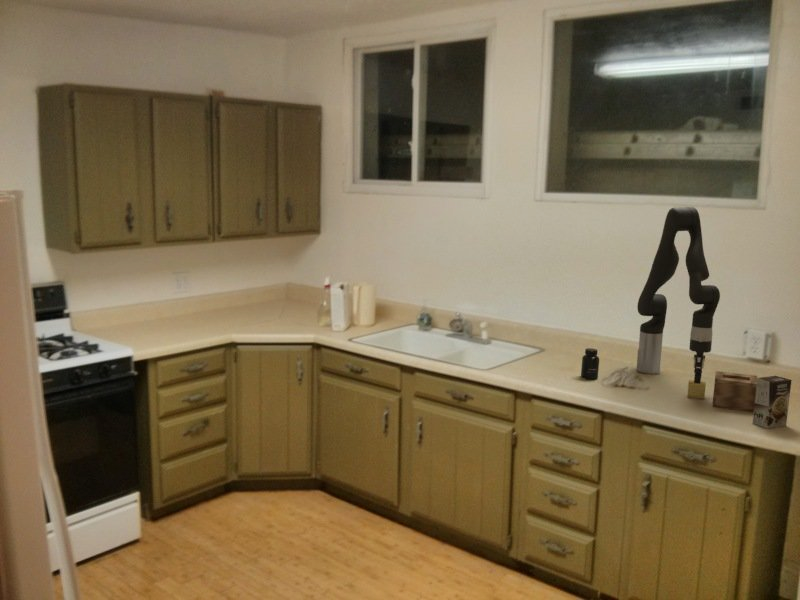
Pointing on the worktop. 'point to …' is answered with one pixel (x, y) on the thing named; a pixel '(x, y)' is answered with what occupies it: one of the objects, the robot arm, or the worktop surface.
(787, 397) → the coffee box
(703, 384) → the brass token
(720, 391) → the box
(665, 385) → the worktop surface
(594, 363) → the supplement bottle
